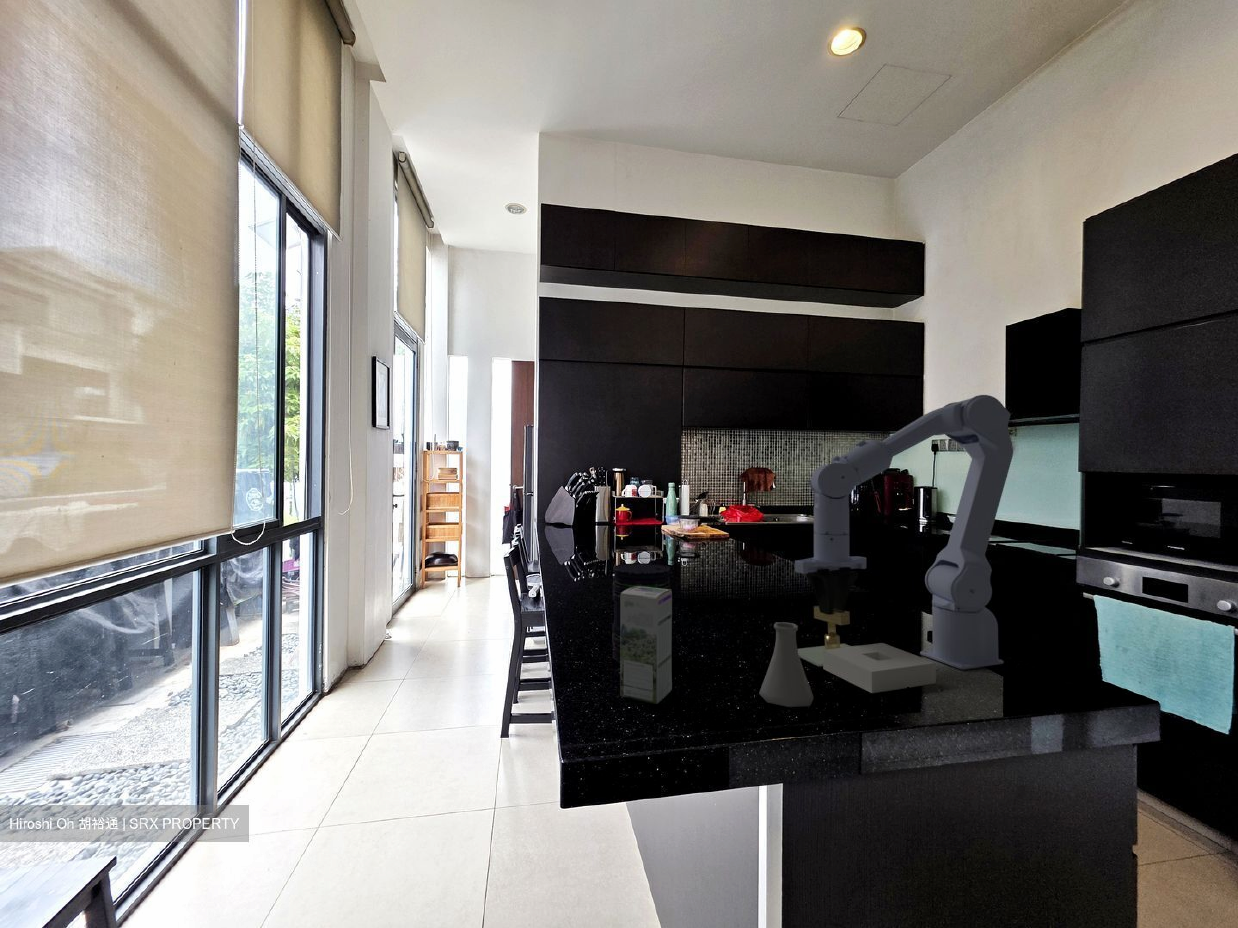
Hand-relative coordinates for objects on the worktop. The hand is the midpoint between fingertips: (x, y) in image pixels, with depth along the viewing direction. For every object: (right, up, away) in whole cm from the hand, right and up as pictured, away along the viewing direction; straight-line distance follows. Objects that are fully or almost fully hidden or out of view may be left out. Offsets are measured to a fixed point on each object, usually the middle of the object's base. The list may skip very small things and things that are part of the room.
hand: (831, 612), depth 91 cm
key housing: (+3, -7, -10) cm, 12 cm away
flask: (-14, -7, -18) cm, 24 cm away
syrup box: (-33, -7, -17) cm, 38 cm away
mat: (0, -7, 0) cm, 7 cm away
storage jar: (-33, -7, -1) cm, 34 cm away
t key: (0, -7, 0) cm, 7 cm away
